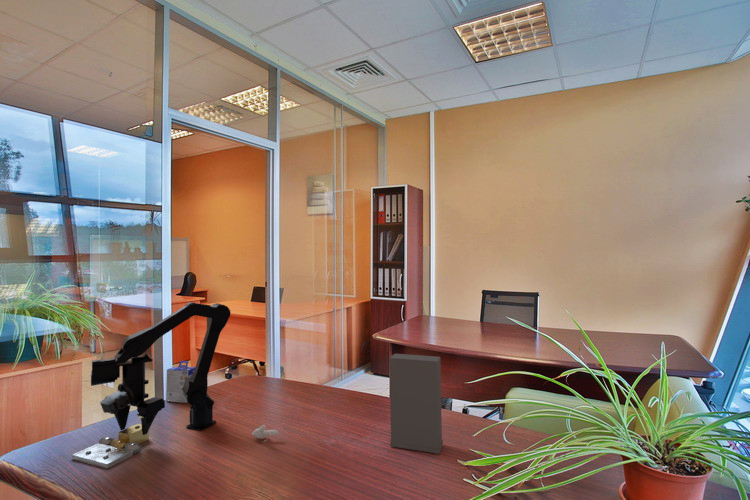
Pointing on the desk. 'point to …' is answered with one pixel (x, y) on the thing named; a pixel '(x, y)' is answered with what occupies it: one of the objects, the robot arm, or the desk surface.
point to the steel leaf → (106, 453)
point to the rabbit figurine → (263, 432)
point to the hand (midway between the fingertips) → (133, 432)
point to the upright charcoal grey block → (416, 402)
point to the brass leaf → (130, 436)
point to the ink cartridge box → (177, 382)
